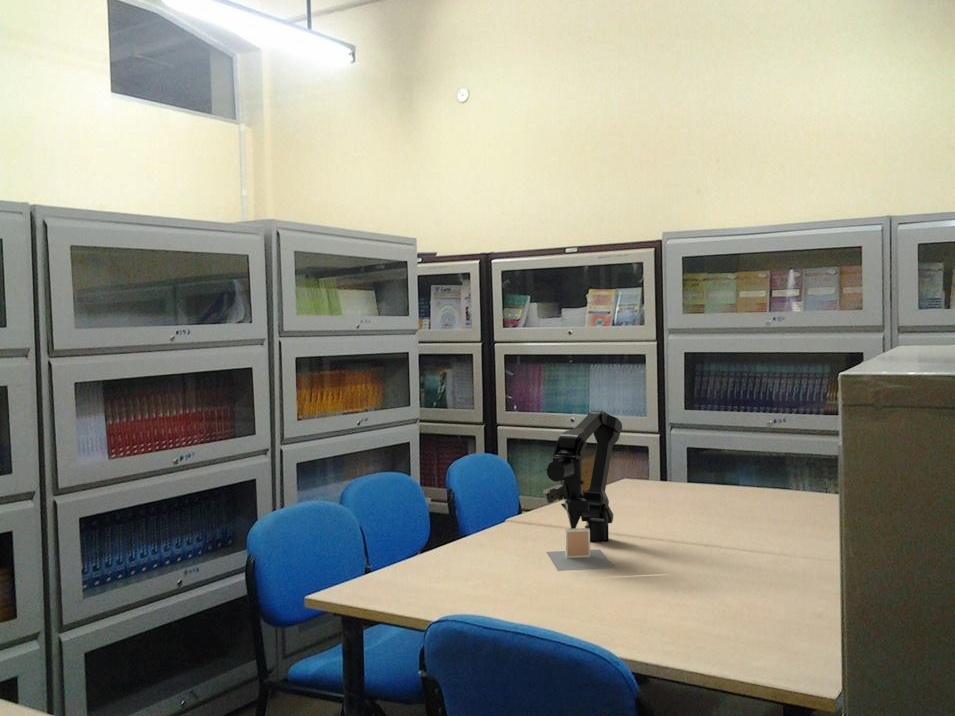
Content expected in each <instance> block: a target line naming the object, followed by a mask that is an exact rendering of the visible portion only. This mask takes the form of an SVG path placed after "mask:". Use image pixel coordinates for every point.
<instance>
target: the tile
mask: <svg viewBox="0 0 955 716" xmlns="http://www.w3.org/2000/svg"><path fill="white" fill-rule="evenodd" d="M590 550H591V543H590V529H589V528H585V527H584V528H583V527H582V528H581V527H580V528H579V527H576V529H571V528H564V551H565V557H566V558H578V557H590Z"/></svg>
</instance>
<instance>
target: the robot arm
mask: <svg viewBox="0 0 955 716" xmlns="http://www.w3.org/2000/svg"><path fill="white" fill-rule="evenodd" d="M622 431H623V423H622V422H621V420H620V419H619V418H618V417H615V416H613V415H611V414H608V413H607V412H606V411H604V410H589V411H588V413H587V415H586V416H585V417H584V418H583V419H582V420H581V421H580V422H579V423H578V424H577V426H575V427H574V428H571V429H569V430H566V431H564V432H561V433H560V435H559V436H558V438H557V441H556V444H555V447H554V451H553V454H552V461H551V462H550V463H549V464H548V465H547V468H546V474H547V476H548V479H550V480H551V481H553V482H557V483H558V482H559V484H556V485H553V486H551V487H549V488H548V487H547V488H546V489H544V490H543V491H542V492H543V495H544V498H545V501H546V502H547V504H551V503H553V502H556V500H557V501H558V502H559V501H561V500H563V503H560V506H562V508H563V509H564V510H565V511H566V514H567V519H568V521H569V525H570V529H576V528H577V526H578V523H579V521H580V519H581V522H585V523H586V525H584V528H589V529H590V544H591V543H609V542H611V541H610V540H609V524H612V523H613V522H614V513H613V511H612V510H611V507H610V505H609V504H610V502H609V501H610V500H609V497H608V495H607V493H606V488H607V481H608V476H609V471H610V470H609V469H610V464H611V458H612V451H613V447H614V445H615V444H616V443H617V442H618V441H619V440H620V436H621V433H622ZM592 435H593V436H594V439H595V441H596V448H595V452H594V458H593V461H594V462H593V466H592V471H591V478H590V484H589V487H588V489H587V490H586V491H583V485H584V482H585V481H584V480H583V468H582V467H583V463H582V460H584V459H585V457H584V455H583V453H584V451H585V449H586V447H587V446H588V444H587V441H588V439H589V438H590V437H591V436H592Z"/></svg>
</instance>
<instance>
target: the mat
mask: <svg viewBox="0 0 955 716" xmlns="http://www.w3.org/2000/svg"><path fill="white" fill-rule="evenodd" d="M545 552H546V554H547V556H548V557H549V559H550V561H551V562H552V564H553V565H554V567H555V569H556V570H557V572H561V571H580V570H581V571H582V570H583V571H584V570H586V571H587V570H605V569H617V567H616V566H615V565H614V564H613V563H612V562H611V560H610V559H609V558H608V557H607V556H606V555H605V554H604V553H603V551H602V550H601V549H590V557H578V558H566V557H565V550H557V551H556V550H555V551H545Z"/></svg>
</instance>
